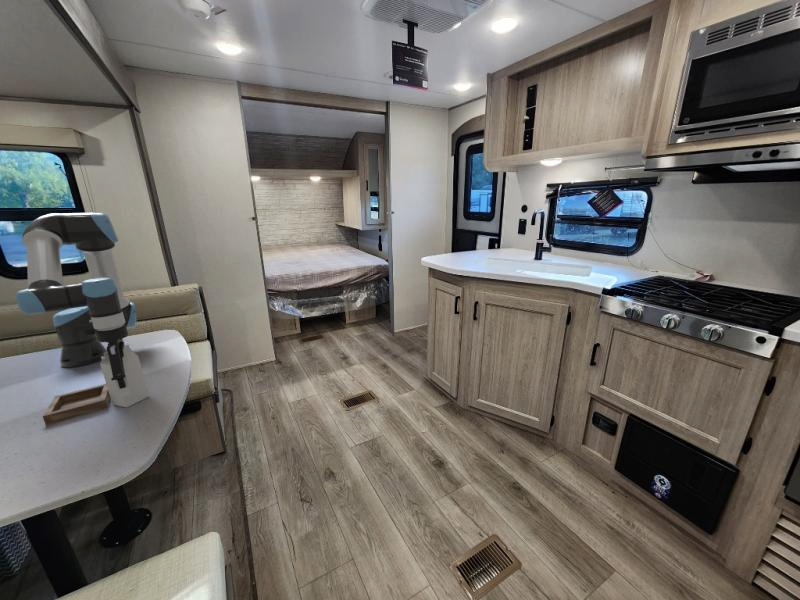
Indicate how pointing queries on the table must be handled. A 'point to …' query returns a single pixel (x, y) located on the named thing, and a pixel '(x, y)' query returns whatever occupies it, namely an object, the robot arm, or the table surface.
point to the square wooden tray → (77, 404)
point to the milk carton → (133, 377)
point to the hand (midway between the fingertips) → (127, 388)
